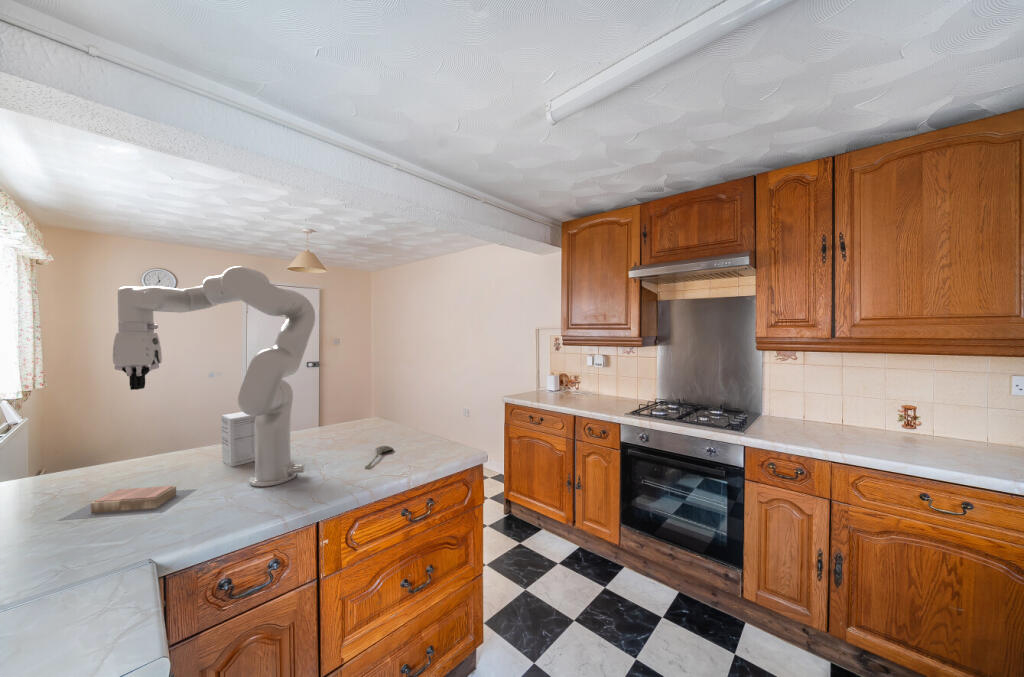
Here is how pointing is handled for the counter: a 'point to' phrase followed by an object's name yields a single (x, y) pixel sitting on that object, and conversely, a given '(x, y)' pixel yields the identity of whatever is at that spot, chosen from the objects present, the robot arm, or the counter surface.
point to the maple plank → (133, 499)
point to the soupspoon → (380, 450)
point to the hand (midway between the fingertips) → (137, 388)
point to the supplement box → (238, 438)
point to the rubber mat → (86, 510)
